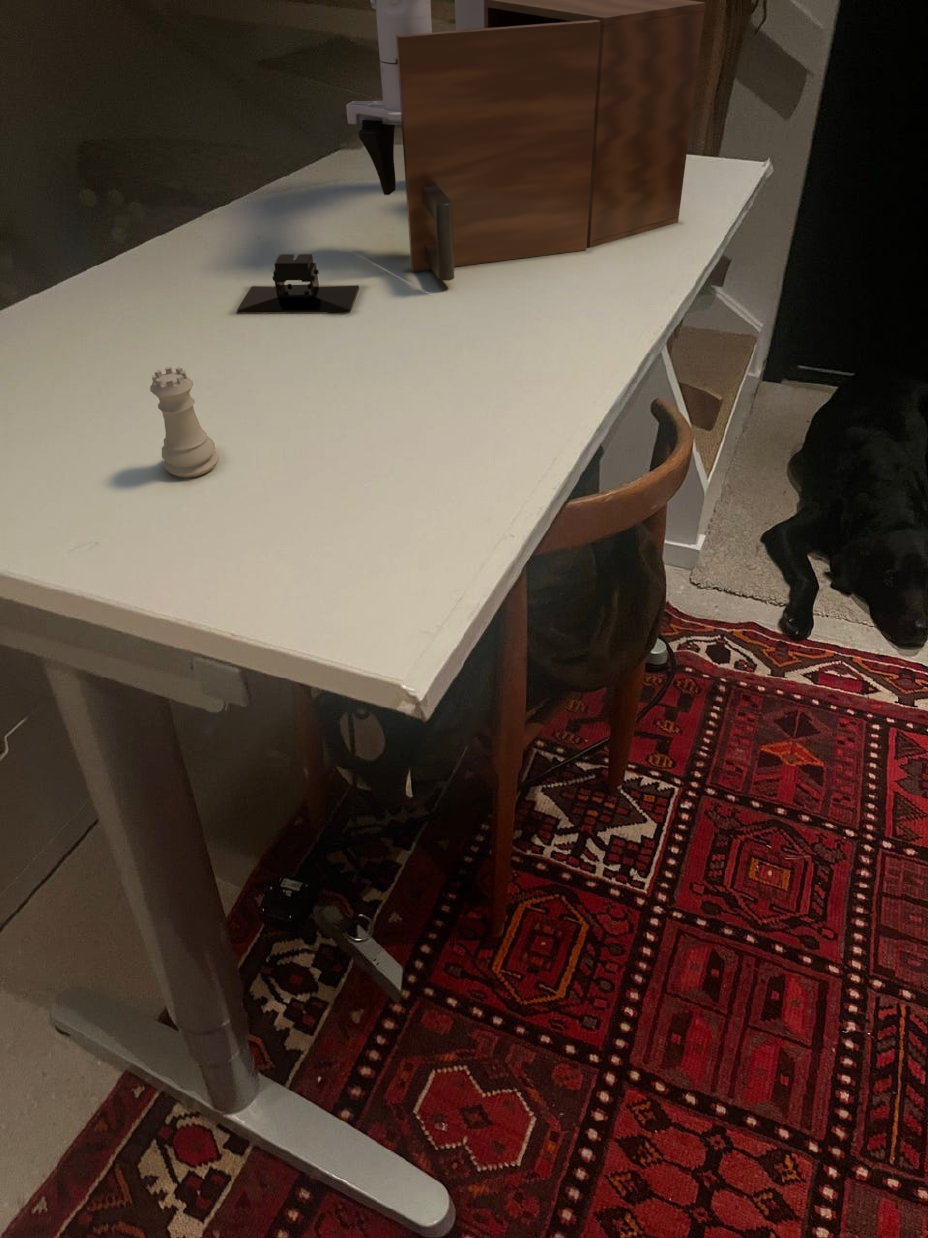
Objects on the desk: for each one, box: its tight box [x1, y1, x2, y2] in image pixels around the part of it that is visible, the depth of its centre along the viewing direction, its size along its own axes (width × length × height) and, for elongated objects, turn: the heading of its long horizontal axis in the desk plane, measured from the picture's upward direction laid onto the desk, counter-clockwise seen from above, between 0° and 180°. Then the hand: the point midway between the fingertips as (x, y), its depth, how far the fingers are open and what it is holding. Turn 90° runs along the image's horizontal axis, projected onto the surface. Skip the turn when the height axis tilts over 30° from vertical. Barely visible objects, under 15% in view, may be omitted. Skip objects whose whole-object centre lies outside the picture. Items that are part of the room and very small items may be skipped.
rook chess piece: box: [149, 366, 220, 478], centre depth 71 cm, size 4×4×8 cm
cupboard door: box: [396, 20, 600, 282], centre depth 96 cm, size 8×22×23 cm, turn 105°
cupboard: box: [484, 0, 706, 249], centre depth 111 cm, size 15×22×24 cm
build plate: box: [236, 253, 360, 315], centre depth 98 cm, size 12×7×5 cm, turn 87°
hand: (414, 194), depth 105 cm, fingers open, 6 cm apart
